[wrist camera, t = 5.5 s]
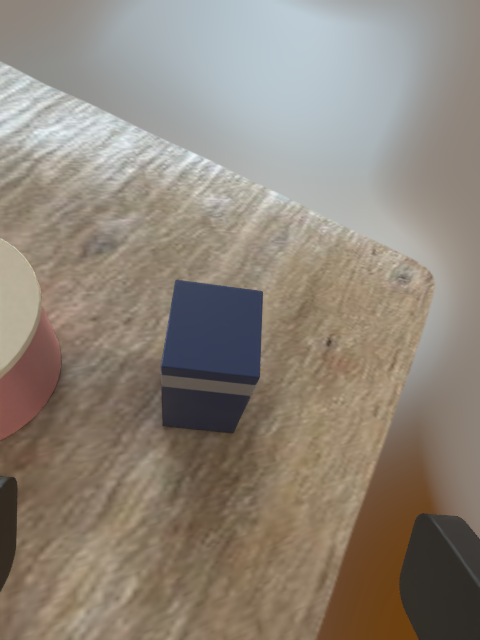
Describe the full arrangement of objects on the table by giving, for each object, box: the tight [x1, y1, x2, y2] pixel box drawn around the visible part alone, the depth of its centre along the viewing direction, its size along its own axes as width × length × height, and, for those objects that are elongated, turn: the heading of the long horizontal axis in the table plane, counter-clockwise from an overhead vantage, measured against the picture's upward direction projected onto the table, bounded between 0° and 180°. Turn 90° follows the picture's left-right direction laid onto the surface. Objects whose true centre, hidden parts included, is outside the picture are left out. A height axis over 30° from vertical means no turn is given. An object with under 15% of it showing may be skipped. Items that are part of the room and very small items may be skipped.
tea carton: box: [161, 280, 263, 433], centre depth 27 cm, size 5×5×10 cm
